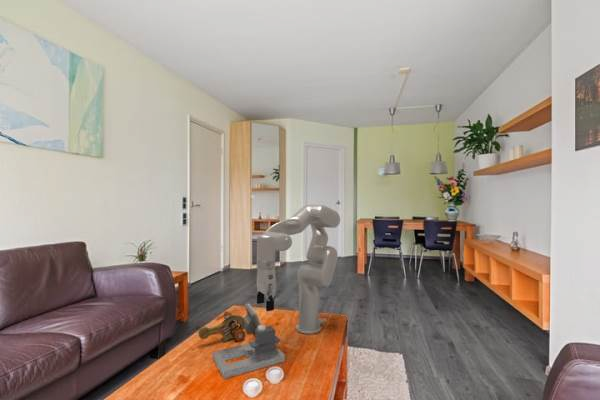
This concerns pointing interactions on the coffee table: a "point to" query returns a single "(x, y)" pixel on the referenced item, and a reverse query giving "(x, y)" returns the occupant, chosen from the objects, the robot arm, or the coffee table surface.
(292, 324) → the coffee table surface
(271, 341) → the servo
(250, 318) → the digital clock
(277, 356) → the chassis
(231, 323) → the toy helicopter
